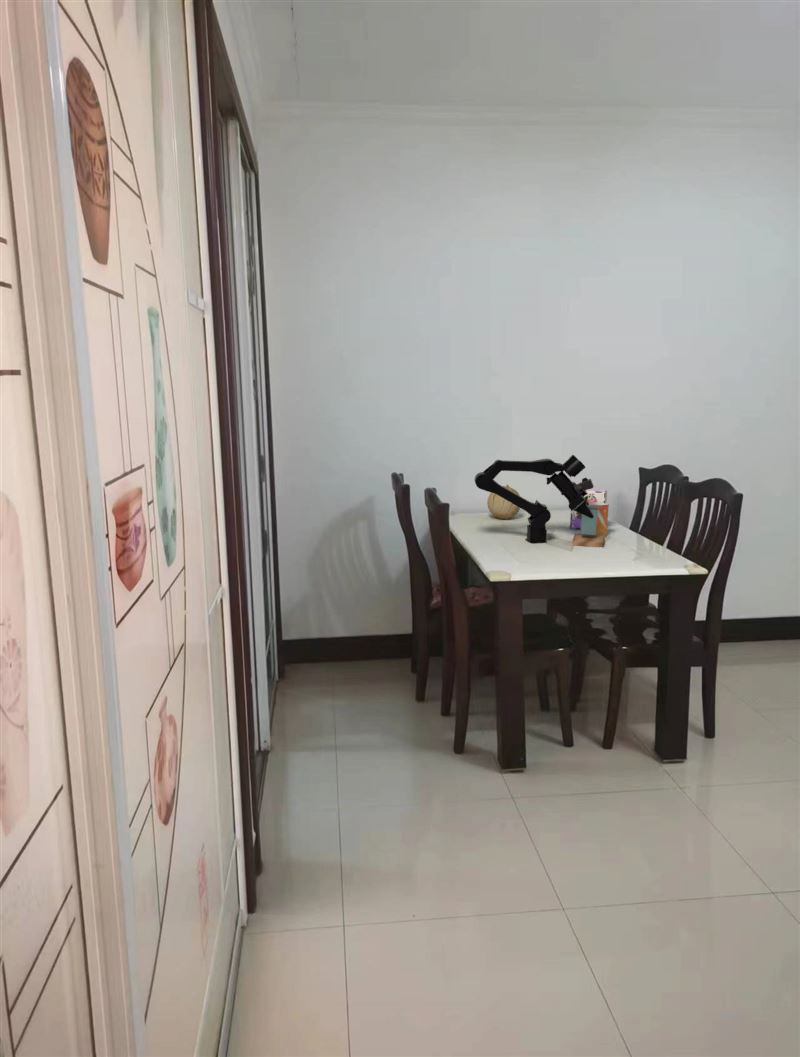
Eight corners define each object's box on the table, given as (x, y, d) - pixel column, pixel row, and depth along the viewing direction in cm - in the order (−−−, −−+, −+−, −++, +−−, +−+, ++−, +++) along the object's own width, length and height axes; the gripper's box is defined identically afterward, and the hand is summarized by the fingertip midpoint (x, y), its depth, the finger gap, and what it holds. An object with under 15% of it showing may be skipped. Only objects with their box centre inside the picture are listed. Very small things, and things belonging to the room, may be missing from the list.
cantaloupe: (485, 520, 347) (486, 486, 344) (488, 515, 361) (489, 482, 358) (519, 522, 344) (520, 488, 341) (521, 516, 358) (522, 483, 355)
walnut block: (572, 546, 299) (572, 539, 298) (574, 541, 309) (575, 533, 308) (602, 548, 295) (602, 541, 295) (603, 543, 306) (604, 535, 305)
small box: (593, 538, 312) (594, 505, 309) (581, 535, 317) (582, 503, 314) (607, 536, 316) (609, 503, 314) (595, 533, 321) (597, 501, 319)
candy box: (569, 528, 331) (571, 489, 327) (571, 526, 336) (573, 487, 333) (603, 531, 326) (605, 491, 322) (605, 528, 331) (607, 489, 328)
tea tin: (580, 534, 299) (581, 506, 297) (581, 531, 305) (583, 504, 303) (595, 535, 298) (597, 507, 296) (596, 532, 303) (598, 505, 301)
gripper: (579, 474, 289) (608, 506, 288) (583, 468, 307) (610, 498, 306) (556, 494, 293) (585, 526, 292) (561, 487, 310) (588, 517, 309)
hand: (593, 516), depth 300 cm, fingers closed on tea tin, 5 cm apart
